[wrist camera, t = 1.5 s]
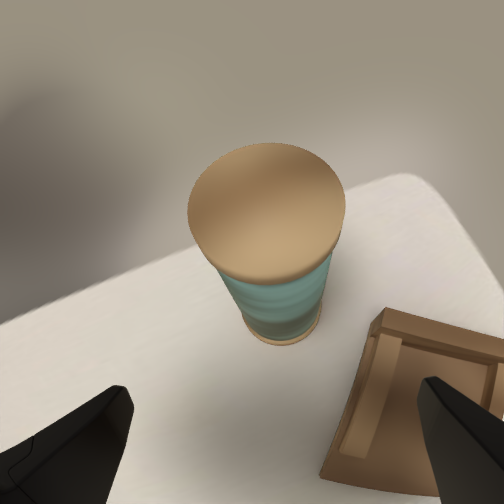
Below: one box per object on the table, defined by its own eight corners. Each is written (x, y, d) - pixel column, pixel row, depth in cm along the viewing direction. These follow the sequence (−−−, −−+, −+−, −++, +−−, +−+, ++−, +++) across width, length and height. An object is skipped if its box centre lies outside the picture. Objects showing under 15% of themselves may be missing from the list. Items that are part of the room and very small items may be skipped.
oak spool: (336, 311, 22) (377, 206, 10) (275, 361, 21) (249, 309, 9) (286, 257, 24) (275, 124, 13) (227, 302, 23) (161, 196, 12)
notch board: (462, 495, 14) (488, 506, 10) (319, 474, 17) (324, 490, 13) (501, 356, 18) (530, 346, 14) (370, 323, 21) (385, 307, 18)
